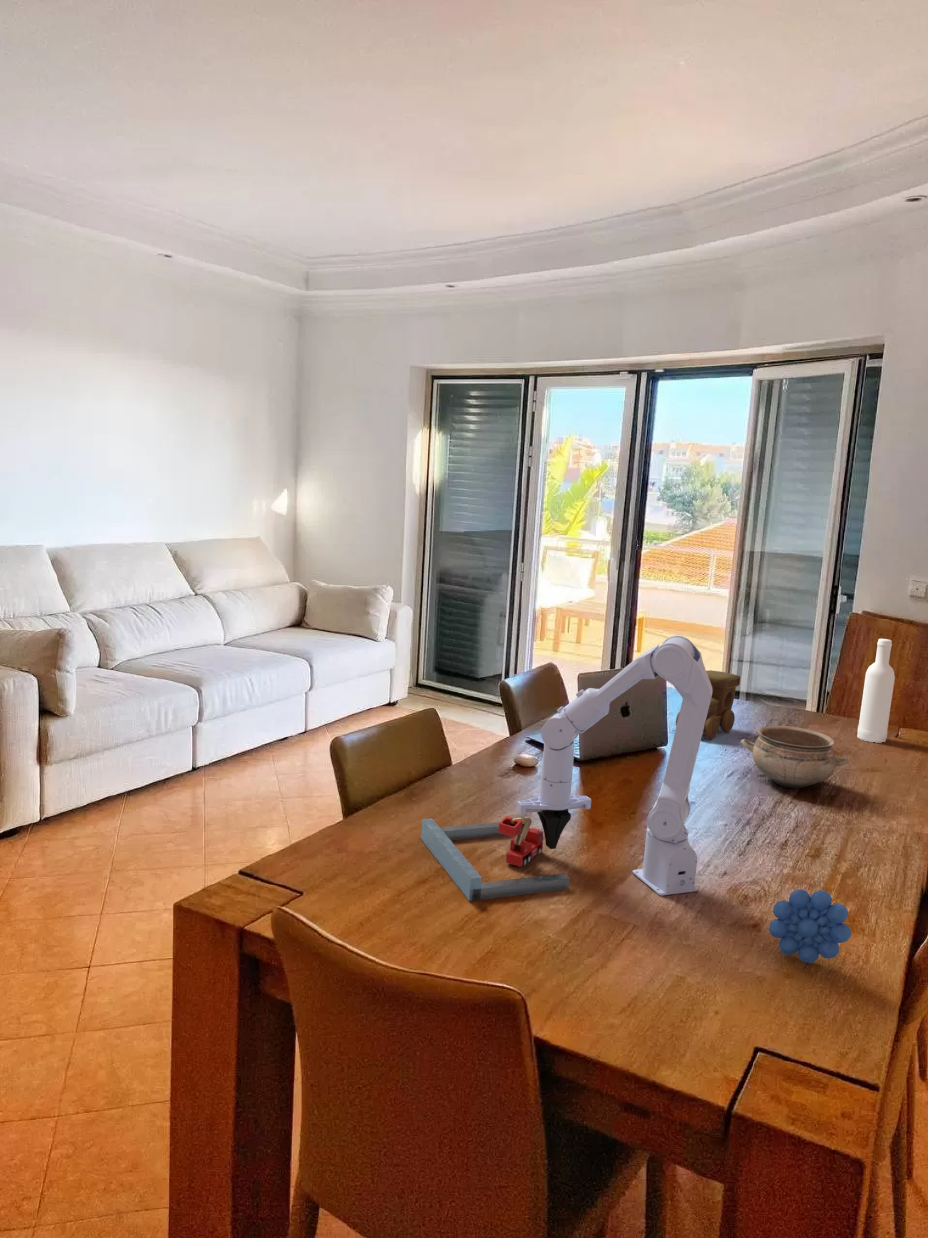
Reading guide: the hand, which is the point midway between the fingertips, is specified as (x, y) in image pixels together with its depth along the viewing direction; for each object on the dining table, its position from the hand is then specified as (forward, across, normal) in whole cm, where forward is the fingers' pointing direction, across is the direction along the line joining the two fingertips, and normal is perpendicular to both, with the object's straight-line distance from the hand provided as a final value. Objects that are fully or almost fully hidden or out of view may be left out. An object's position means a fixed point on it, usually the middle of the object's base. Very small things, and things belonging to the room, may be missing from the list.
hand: (550, 846), depth 168 cm
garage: (+2, +12, 0) cm, 12 cm away
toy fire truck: (+2, +6, +1) cm, 7 cm away
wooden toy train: (+2, -84, -68) cm, 108 cm away
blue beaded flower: (+2, -23, +43) cm, 49 cm away
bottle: (+2, -132, -53) cm, 142 cm away
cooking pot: (+2, -78, -25) cm, 82 cm away
